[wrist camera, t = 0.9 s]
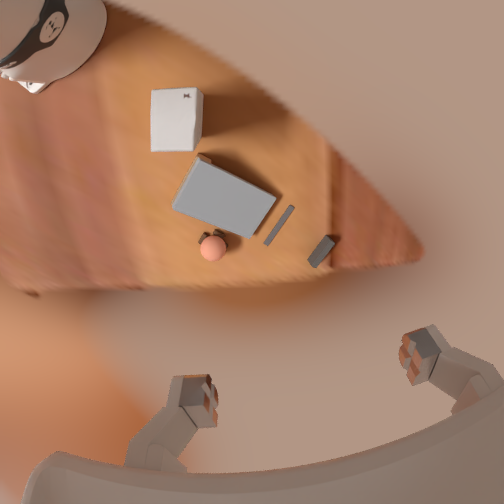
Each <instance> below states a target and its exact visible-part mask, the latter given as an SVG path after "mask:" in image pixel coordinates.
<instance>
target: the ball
mask: <svg viewBox="0 0 504 504" xmlns="http://www.w3.org/2000/svg"><path fill="white" fill-rule="evenodd" d="M225 252H226V245H225V242H224V241H223V240H222V239H221V238H220V237H218V236H209V237H207V238H205V239H204V240H203V242H202V244H201V253H202V255H203V257H204V258H206V259H207V260H209V261H217V260H220V259H221V258H222V257H223V256H224V254H225Z"/></svg>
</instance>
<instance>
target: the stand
mask: <svg viewBox="0 0 504 504" xmlns="http://www.w3.org/2000/svg"><path fill="white" fill-rule="evenodd" d="M213 234H215V235H217V236H219V237H221V238H224V237H225V234H223V233H221V232H219V231H217V230H214V232H213ZM206 236H207V234H206V233H203V235H202V236H201V238H200V240H199V244H202V242H203V240H204V239H205V238H206ZM225 245H226V248H227V247H228V244H226V243H225Z"/></svg>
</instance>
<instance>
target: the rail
mask: <svg viewBox="0 0 504 504" xmlns="http://www.w3.org/2000/svg"><path fill="white" fill-rule="evenodd" d="M334 244H335V243H334V241H333V240H332V239H331V238H330V237H329V236H327V235H325V237H324V238H323V239H322V241H321V242H320V243H319V245H318V246H317V247H316V249H315V250H314V251H313V253H312V254H311V255H310V257H309V258H308V259H307V260H308V261H309V263H310V265H311V266H312V267H314V268H317V266H318V265H319V264H320V262H321V261H322V260H323V259H324V257H325V256H326V255H327V253H328V252H329V251H330V249H331V248H332V247H333V245H334Z"/></svg>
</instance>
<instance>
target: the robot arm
mask: <svg viewBox="0 0 504 504" xmlns="http://www.w3.org/2000/svg"><path fill="white" fill-rule="evenodd" d="M106 21H107V13H106V8H105V6H104V4H103V2H102V0H0V74H1V73H2V72H3V73H2V75H1V77H3V78H5V79H8V78H9V80H11V81H17V82H18V83H20V84H21V85H22V86H23V87H25V88H26V89H27V90H28V91H30V92H31V93H35V94H37V93H39V92H41V91H42V90H43V89H44V88H45V87H46V86H47V85H49V84H50V83H51V82H53V81H55V80H57V79H60V78H63V77H65V76H67V75H69V74H70V73H72V72H73V71H75V70H76V69H78V68H79V67H80V66H81V65H82V64H83V63H84V62H85V61H86V60H87V59H88V58H89V57H90V56H91V54H92V53H93V52H94V50H95V49H96V47H97V46H98V44H99V42H100V40H101V38H102V36H103V33H104V30H105V27H106ZM32 83H33V84H32ZM401 341H402V343H403V345H402V346H401V347H400V349H399V360H400V363H401V365H402V367H403V368H405V369H406V370H408V372H407V377H408V379H409V381H410V382H411V384H412V386H414V385H417V384H420V383H422V382H425V381H428V380H429V382H431V383H432V384H433V385H435V386H436V387H438V388H439V389H441V390H442V391H444V392H445V393H447V394H448V395H450V396H451V397H453V398H454V399H456V400H457V401H456V403H455V404H454V406H453V407H452V410H451V412H452V416H450V417H448V418H446V419H444V420H442V421H440V422H438V423H436V424H434V425H432V426H430V427H428V428H425V429H423V430H421V431H418V432H416V433H413V434H411V435H408V436H406V437H403V438H401V439H398V440H396V441H393V442H390V443H387V444H384V445H381V446H378V447H375V448H372V449H369V450H366V451H362V452H359V453H355V454H352V455H348V456H344V457H340V458H336V459H331V460H327V461H322V462H317V463H313V464H308V465H301V466H296V467H289V468H282V469H274V470H265V471H256V472H255V471H254V472H240V473H187V467H186V466H185V465H183V464H182V463H181V462H180V461H179V460H178V459H177V458H178V457H179V455H180V454H181V453H182V451H183V450H184V448H185V447H186V446H187V444H188V443H189V441H190V440H191V439H192V437H193V436H194V434H195V433H196V431H197V430H198V429H197V428H211V427H217V419H218V414H217V412H216V410H215V409H216V408H217V406H218V393H217V389H216V387H215V386H214V385H213V384H211V381H212V379H211V377H210V375H209V374H202V375H183V376H174V377H173V378H172V380H171V385H170V390H169V395H168V400H167V405H166V407H163V408H162V409H161V410H160V411H159V412H158V413H157V414H156V415H155V416H154V417H153V418H152V419H151V420H150V421H149V422H148V423H147V424H146V425H145V426H144V427H143V428H142V429H141V430H140V431H139V432H138V433H137V434H136V435H135V436H134V437H133V438H132V439H131V440H130V441H129V446H128V450H127V454H126V458H125V463H124V466H120V465H114V464H109V463H104V462H99V461H95V460H91V459H87V458H82V457H79V456H76V455H72V454H69V453H66V452H61V451H57V452H55V453H53V454H51V455H50V456H48V457H47V458H45V459H44V460H43V461H42V462H41V463H39V464H38V465H37V466H36V467H35V468H34V469H33V471H32V473H31V475H30V477H29V479H28V482H27V485H26V488H25V491H24V493H23V497H22V501H21V504H504V380H503V378H502V377H501V376H500V374H499V373H498V371H497V370H496V368H495V367H494V365H493V364H491V363H488V362H486V361H484V360H482V359H479V358H477V357H475V356H473V355H470V354H469V353H466V352H464V351H462V350H459V349H457V348H455V347H453V348H451V346H450V345H449V344H448V342H447V341H446V339H445V338H444V337H443V335H442V334H441V333H440V331H439V330H438V329H437V327H436V326H435V325H433V324H432V325H430V326H427V327H424V328H420V329H418V330H415V331H412V332H409V333H406V334H404V335H403V336H402V340H401Z"/></svg>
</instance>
